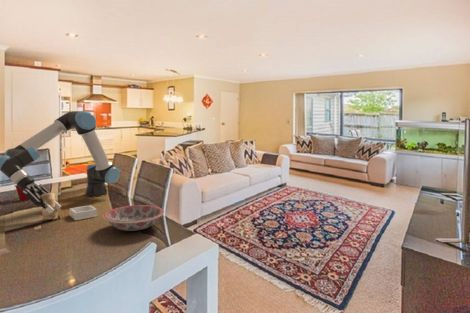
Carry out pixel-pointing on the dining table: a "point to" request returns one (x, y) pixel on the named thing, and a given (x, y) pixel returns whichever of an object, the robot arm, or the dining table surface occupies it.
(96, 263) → the dining table surface
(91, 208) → the square tray
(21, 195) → the plastic cup
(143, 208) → the ceramic bowl
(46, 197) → the oak rail post
